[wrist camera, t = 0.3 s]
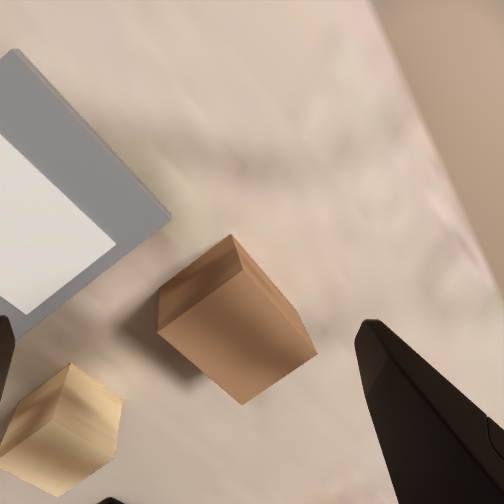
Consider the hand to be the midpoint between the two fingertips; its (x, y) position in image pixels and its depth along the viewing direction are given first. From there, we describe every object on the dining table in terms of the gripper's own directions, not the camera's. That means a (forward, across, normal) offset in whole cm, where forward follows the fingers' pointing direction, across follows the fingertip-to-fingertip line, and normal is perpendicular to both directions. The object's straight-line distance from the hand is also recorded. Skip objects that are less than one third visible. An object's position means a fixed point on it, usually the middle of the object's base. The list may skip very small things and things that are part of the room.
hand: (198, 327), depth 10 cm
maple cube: (+11, +8, +20) cm, 24 cm away
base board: (+14, +10, +6) cm, 18 cm away
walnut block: (+13, -3, +12) cm, 18 cm away
